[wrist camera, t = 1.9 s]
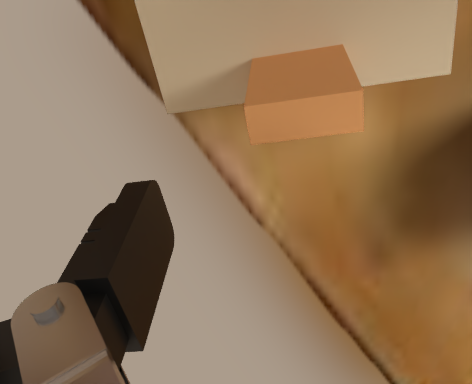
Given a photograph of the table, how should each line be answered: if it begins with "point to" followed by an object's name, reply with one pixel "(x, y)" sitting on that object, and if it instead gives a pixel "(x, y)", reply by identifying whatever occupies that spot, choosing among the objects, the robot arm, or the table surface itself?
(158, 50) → the carton lid
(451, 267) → the table surface
